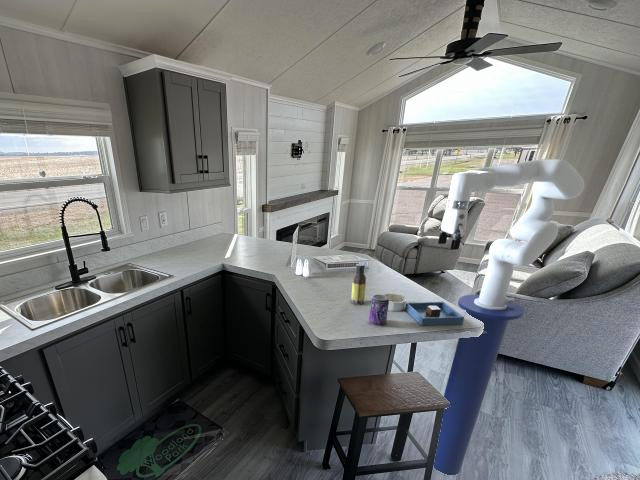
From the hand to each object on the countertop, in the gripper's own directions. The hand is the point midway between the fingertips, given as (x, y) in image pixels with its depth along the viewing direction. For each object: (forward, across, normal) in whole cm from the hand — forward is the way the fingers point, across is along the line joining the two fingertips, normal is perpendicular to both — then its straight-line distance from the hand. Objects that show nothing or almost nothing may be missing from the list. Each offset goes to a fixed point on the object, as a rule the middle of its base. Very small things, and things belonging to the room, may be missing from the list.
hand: (447, 246), depth 139 cm
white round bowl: (+31, +7, +16) cm, 36 cm away
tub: (+31, -4, +2) cm, 32 cm away
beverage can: (+32, -9, +28) cm, 43 cm away
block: (+31, -4, +2) cm, 31 cm away
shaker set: (+32, +55, +52) cm, 82 cm away
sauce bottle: (+32, +13, +31) cm, 46 cm away
